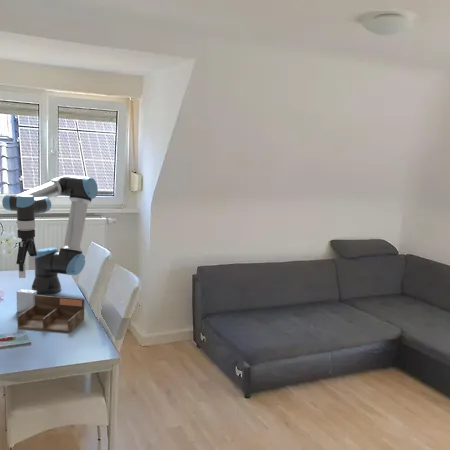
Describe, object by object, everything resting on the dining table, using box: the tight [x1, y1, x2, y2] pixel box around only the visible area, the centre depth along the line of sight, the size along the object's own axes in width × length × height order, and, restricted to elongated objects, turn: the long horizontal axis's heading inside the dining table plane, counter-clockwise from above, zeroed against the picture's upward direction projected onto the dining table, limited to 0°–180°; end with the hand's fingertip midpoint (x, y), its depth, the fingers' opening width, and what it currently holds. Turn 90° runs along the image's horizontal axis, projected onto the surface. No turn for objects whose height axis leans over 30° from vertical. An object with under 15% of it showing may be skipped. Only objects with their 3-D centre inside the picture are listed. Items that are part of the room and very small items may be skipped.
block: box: [16, 288, 38, 313], centre depth 234 cm, size 4×8×10 cm, turn 85°
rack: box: [16, 294, 85, 334], centre depth 220 cm, size 17×23×10 cm
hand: (27, 273), depth 229 cm, fingers open, 13 cm apart
